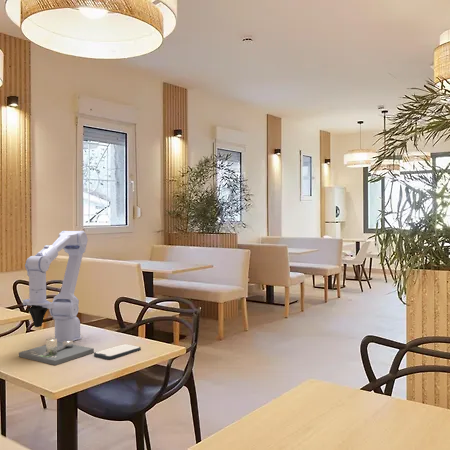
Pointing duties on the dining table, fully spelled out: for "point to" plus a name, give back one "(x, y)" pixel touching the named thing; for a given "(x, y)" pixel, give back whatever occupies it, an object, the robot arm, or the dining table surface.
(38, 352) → the dial board
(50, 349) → the lever
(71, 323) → the robot arm
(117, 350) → the phone case
